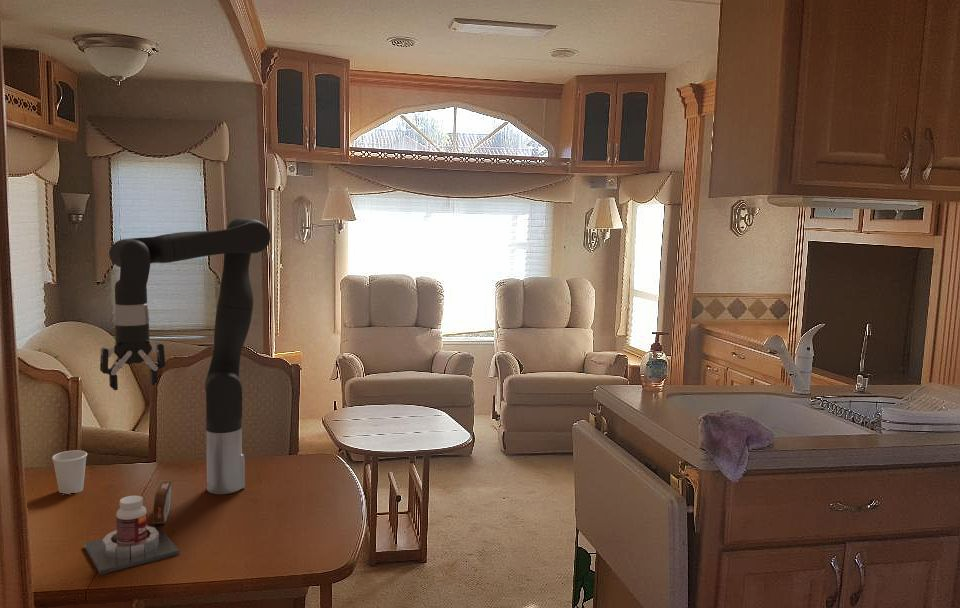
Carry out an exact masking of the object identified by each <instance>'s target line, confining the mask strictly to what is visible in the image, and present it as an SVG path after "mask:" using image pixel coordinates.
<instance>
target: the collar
mask: <svg viewBox="0 0 960 608" xmlns="http://www.w3.org/2000/svg"><path fill="white" fill-rule="evenodd" d="M83 545H84V546H83V547H84V549H85V551H86V553H87V555H88V556H89V558H90V560H91V562H92V563H93V565H94V566H95V569H96V568H97V569H96V571H97V570H98V571H97V573H98V575H99V576H102V575H106V574H110V572H111V573H113V571H115V572H118V571H121V569H122V570H125V569H124V568H126V569H129V568H128V567H130V568H132V567H131V566H134V567H136V566H135V565H138V566H141V565H145V564H149V563H152V562H156V561H160V560H164V559H167V558H171V557H175V556H179V555H180V549H178V547H177V546H176V545H175V543H174V542H173V541H172V540H171V539H170V538H169V537H168V535H167V534H166V533H165V531H164V530H163V529H162V528H161V527H160V526H159V525H157V526H156V525H155V526H149V525H147V538H146V539H144V540H142V541H140V542H136V543H132V544H117V529H115V530H113V531H110V532H109V533H107V534H106V535H105V536H104V537H103V538H99V539H95V540H91V541H87V542H83ZM140 564H141V565H140ZM117 570H118V571H117Z"/></svg>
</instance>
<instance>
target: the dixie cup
mask: <svg viewBox="0 0 960 608" xmlns="http://www.w3.org/2000/svg"><path fill="white" fill-rule="evenodd" d="M87 456H88V453H87V452H86V451H84V450H81V449H80V450H77V449H76V450H67V451H62V452H61V451H60V452H59V453H56V454H54V455H52V457H51V460H52V462H53V465H54V466H53V468H54V471H55V477H56V482H57V490H58V492H60V493H66V494H69V495H71V494H70V493H75V494H77V493H78V494H79V493H81V492H82V491H83V490H84V483H85V476H86V475H85V474H86V473H85V470H86V463H87ZM60 493H59V494H60Z"/></svg>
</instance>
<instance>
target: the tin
mask: <svg viewBox="0 0 960 608" xmlns="http://www.w3.org/2000/svg"><path fill="white" fill-rule="evenodd" d="M172 487H173V481H172V480H169V479H160V481H159V484H158V486H157V489H156V491H155V494H154V500H153V510H152V524H153V525H163V524H166V522H167V519H168V517H169V514H170V510H171V504H172Z"/></svg>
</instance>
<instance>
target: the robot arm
mask: <svg viewBox="0 0 960 608" xmlns="http://www.w3.org/2000/svg"><path fill="white" fill-rule="evenodd" d="M271 237H272V235H271V231H270V228H269V227H268V226H267V225H266V224H265V223H263V222H262V221H260V220H257V219H254V218H253V219H252V218H246V217H236V218H234V219H233V220H231V221H230V223H228V225H227V227H226V228H224V229H219V230H218V229H217V230H202V231H194V230H193V231H183V232H182V231H180V232H172V233H166V234H161V235H157V236H150V237H149V236H148V237H146V236H145V237H133V238H122V239H120V240H118V241H116V242H114V243H113V244H112V245H111V246H110V247H109V252H108V255H109V259H110V261H111V262H112V263H113V264H114V265H115V266H116V267H118V268H120V271H119V279H118V280H117V281H116V282H115V285H114V302H115V304H114V314H113V316H114V338H115V339H114V340H115V342H114V343H115V344H114V347H109V348H107V347H104V346H103V347H101V348H100V357H99V358H100V361H99V362H100V363H99V370H100V372H102V374H104V375H105V374H106V375H108V377H109V387H110V388H111V389H112V390H113V391H118V390H119V389H118V388H119V387H118V385H119V383H118V375H117V373H118V372H119V371H120V369H122V367H123V366H124V365H125V364H126V365H132V364H142V362H144V363H145V364H146V365H147V366H148V367H149V368H150V369H149V385H150V386H151V387H153V386H154V387H155V386H156V384H158V380H159V379H158V370H159V369H162V368H165V367H166V358H165V357H166V356H165V347H164V344H163V343H161V342H157V343H154V344H151V342H150V314H149V307H148V289H147V285H148V280H149V277H150V276H149V275H150V269H151V264H155V263H156V264H157V263H158V264H168V263H175V262H180V261H186V260H191V259H197V258H198V259H199V258H203V257H207V256H216V255H223V267H222V268H223V269H222V275H221V281H220V287H219V288H220V289H219V295H218V300H217V305H216V312H215V313H216V314H215V320H214V321H215V322H214V334H213V335H214V336H213V351H212V357H211V361H210V365H209V369H208V372H207V376H206V378H205V382H204V391H205V402H206V403H205V406H206V409H205V412H206V414H205V416H206V418H205V429H206V430H205V435H206V437H205V438H206V441H205V442H206V443H205V444H206V445H205V446H206V450H205V451H206V489H207V490H206V491H207V492H208V493H210V494H214V495H228V494H232V493H237V492H239V491H240V490H241V489H245V488H246V478H245V477H246V469H245V468H246V467H245V466H246V465H245V463H246V462H245V461H246V459H245V458H246V457H245V454H243V448H242V447H243V444H242V442H243V440H242V438H243V437H242V436H243V434H242V433H243V432H242V426H243V425H242V423H243V422H242V419H243V385H242V382H241V380H240V363H241V355H242V351H243V347H244V344H245V342H246V339H247V336H248V334H249V331H250V325H251V321H252V316H253V308H254V296H253V295H254V294H253V289H252V288H253V287H252V284H251V278H250V274H249V273H250V270H249V269H250V262H251V256H252V254H258V253H260V252H263V251H265V249H266V248H268V246H269V245H270V241H271ZM152 350H153V352H154V353H156V359H157V361H156V362H155V363H154V362H153V360H152V359H151V358H150V357H149V355H150V353H151V351H152ZM112 354H115V355H116V357H117V358H115V360H114V361H113V363H112V364H111V366H110V368H109V358H110V357H112Z"/></svg>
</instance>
